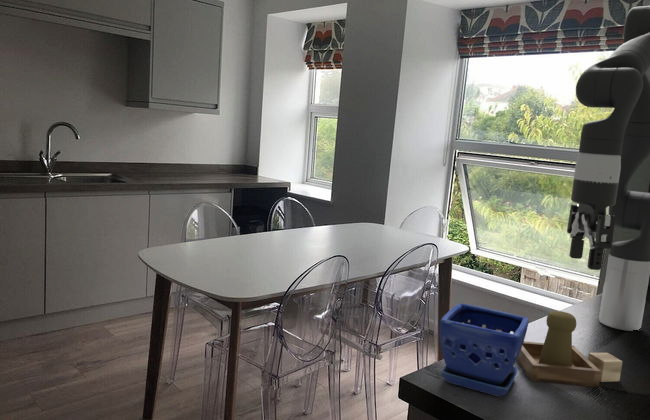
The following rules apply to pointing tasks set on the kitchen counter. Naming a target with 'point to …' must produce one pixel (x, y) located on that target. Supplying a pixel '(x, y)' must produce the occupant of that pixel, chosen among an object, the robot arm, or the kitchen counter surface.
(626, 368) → the kitchen counter surface
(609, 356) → the beech block
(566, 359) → the cork
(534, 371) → the tray
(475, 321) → the flower pot
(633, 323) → the robot arm
